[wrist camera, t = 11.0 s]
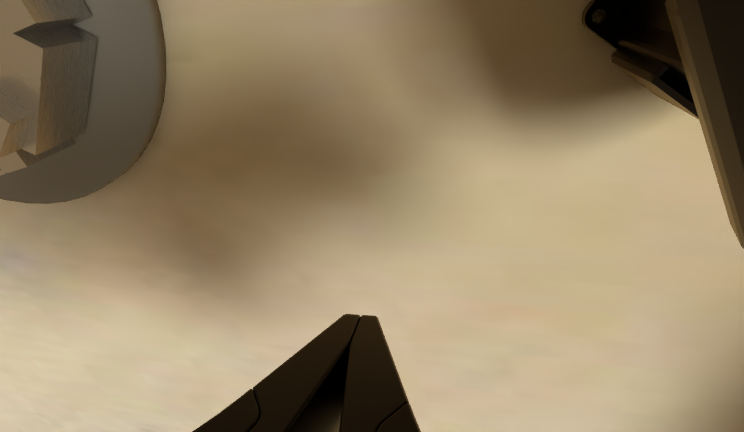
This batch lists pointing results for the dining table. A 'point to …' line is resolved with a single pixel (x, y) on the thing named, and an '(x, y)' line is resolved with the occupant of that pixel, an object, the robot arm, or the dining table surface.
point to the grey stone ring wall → (42, 79)
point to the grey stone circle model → (105, 106)
